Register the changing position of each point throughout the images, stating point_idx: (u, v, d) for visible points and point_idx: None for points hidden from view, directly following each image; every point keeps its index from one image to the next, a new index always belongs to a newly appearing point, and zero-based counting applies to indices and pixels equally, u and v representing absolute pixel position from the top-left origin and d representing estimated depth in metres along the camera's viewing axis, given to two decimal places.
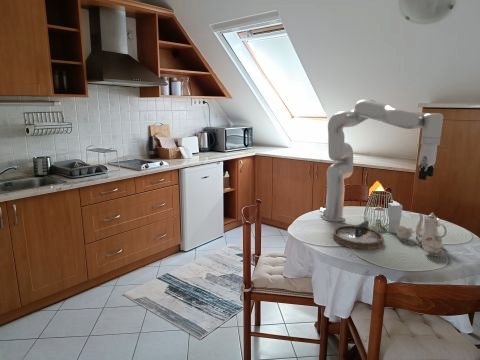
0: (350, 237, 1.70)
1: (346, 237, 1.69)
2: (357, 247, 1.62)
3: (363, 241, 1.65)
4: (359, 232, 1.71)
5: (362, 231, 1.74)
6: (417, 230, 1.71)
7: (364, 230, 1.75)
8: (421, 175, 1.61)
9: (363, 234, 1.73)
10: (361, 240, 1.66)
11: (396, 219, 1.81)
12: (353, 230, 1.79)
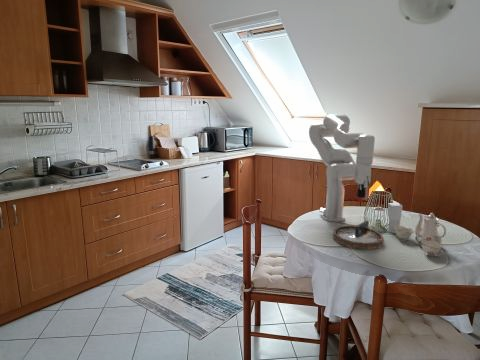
0: (350, 237, 1.70)
1: (346, 237, 1.69)
2: (357, 247, 1.62)
3: (363, 241, 1.65)
4: (359, 232, 1.71)
5: (362, 231, 1.74)
6: (417, 230, 1.71)
7: (364, 230, 1.75)
8: (362, 194, 1.75)
9: (363, 234, 1.73)
10: (361, 240, 1.66)
11: (396, 219, 1.81)
12: (353, 230, 1.79)
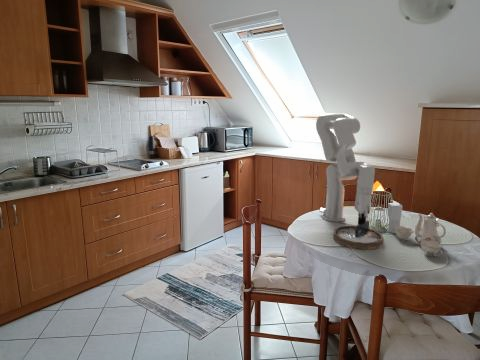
0: (350, 237, 1.70)
1: (346, 237, 1.70)
2: (357, 247, 1.62)
3: (362, 241, 1.65)
4: (359, 232, 1.71)
5: (362, 231, 1.74)
6: (416, 230, 1.71)
7: (364, 230, 1.75)
8: (362, 222, 1.78)
9: (363, 234, 1.73)
10: (360, 240, 1.66)
11: (396, 219, 1.81)
12: (353, 230, 1.79)
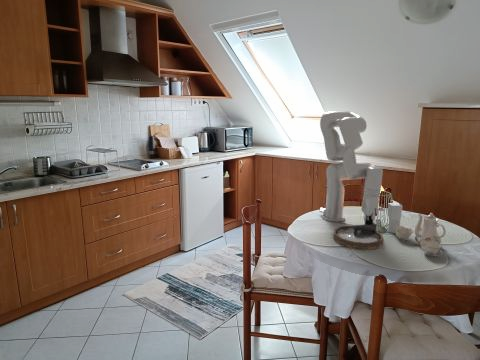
0: (347, 235, 1.72)
1: (343, 234, 1.73)
2: (357, 247, 1.62)
3: (354, 240, 1.66)
4: (358, 232, 1.71)
5: (365, 232, 1.72)
6: (416, 230, 1.71)
7: (368, 231, 1.73)
8: None
9: (364, 235, 1.72)
10: (353, 239, 1.67)
11: (396, 219, 1.81)
12: None
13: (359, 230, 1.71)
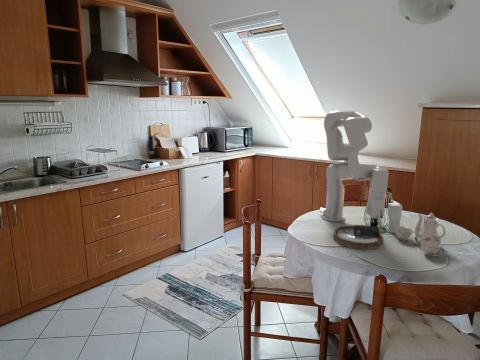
0: (346, 233, 1.74)
1: (343, 232, 1.76)
2: (357, 247, 1.62)
3: (348, 238, 1.68)
4: (357, 232, 1.71)
5: (365, 233, 1.71)
6: (416, 230, 1.71)
7: (369, 233, 1.71)
8: None
9: (364, 236, 1.71)
10: (348, 237, 1.69)
11: (396, 219, 1.81)
12: None
13: (358, 230, 1.71)
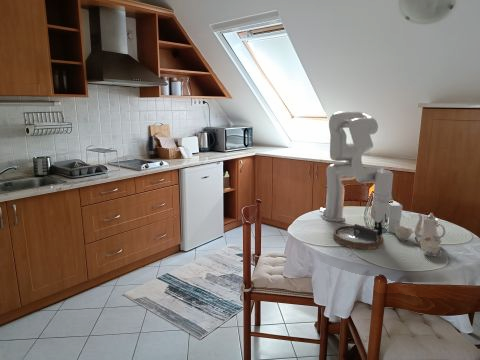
0: (350, 231, 1.77)
1: (349, 230, 1.79)
2: (357, 247, 1.62)
3: (341, 234, 1.73)
4: (355, 231, 1.72)
5: (363, 235, 1.69)
6: (416, 230, 1.71)
7: (367, 235, 1.68)
8: (378, 231, 1.66)
9: (361, 237, 1.69)
10: (344, 234, 1.74)
11: (396, 219, 1.81)
12: None
13: (357, 230, 1.71)
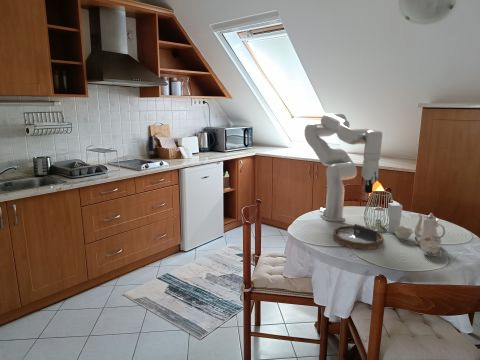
0: (350, 231, 1.77)
1: (349, 230, 1.79)
2: (357, 247, 1.62)
3: (341, 234, 1.73)
4: (355, 231, 1.72)
5: (363, 235, 1.69)
6: (416, 230, 1.71)
7: (367, 235, 1.68)
8: (369, 189, 1.76)
9: (361, 237, 1.69)
10: (344, 234, 1.74)
11: (396, 219, 1.81)
12: None
13: (357, 230, 1.71)
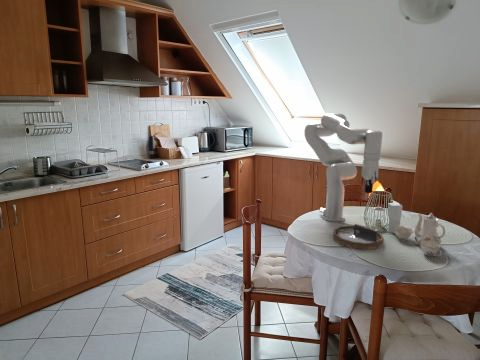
0: (350, 231, 1.77)
1: (349, 230, 1.79)
2: (357, 247, 1.62)
3: (341, 234, 1.73)
4: (355, 231, 1.72)
5: (363, 235, 1.69)
6: (416, 230, 1.71)
7: (367, 235, 1.68)
8: (369, 189, 1.76)
9: (361, 237, 1.69)
10: (344, 234, 1.74)
11: (396, 219, 1.81)
12: None
13: (357, 230, 1.71)
